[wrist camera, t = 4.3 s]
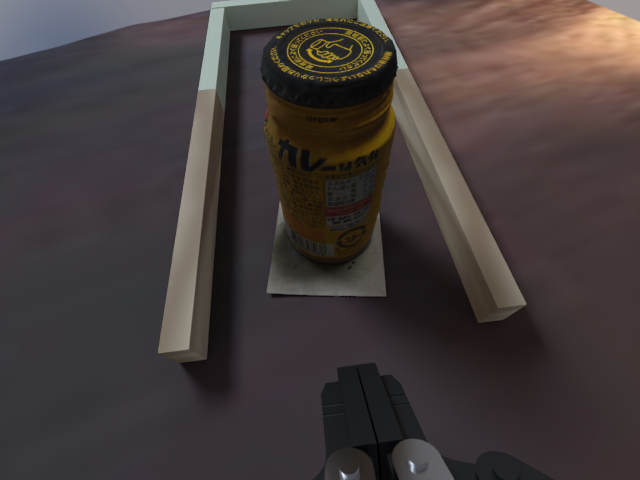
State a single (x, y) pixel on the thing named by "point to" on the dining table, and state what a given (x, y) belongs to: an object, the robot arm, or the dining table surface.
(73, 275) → the dining table surface
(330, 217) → the condiment
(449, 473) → the robot arm
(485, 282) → the wooden guide rails
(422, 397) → the dining table surface
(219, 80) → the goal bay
